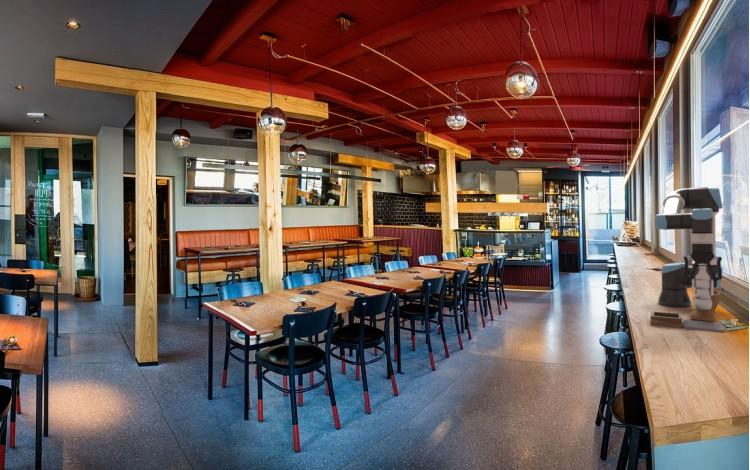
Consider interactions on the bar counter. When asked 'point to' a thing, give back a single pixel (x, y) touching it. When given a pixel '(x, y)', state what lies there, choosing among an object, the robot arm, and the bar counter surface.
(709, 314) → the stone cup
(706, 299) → the plastic bottle
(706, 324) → the slate plate
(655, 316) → the walnut holder
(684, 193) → the robot arm
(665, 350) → the bar counter surface
